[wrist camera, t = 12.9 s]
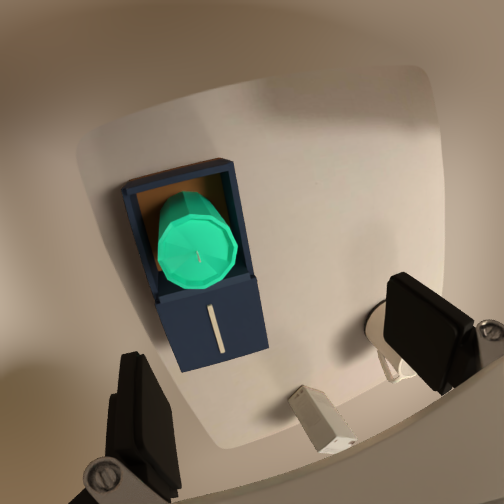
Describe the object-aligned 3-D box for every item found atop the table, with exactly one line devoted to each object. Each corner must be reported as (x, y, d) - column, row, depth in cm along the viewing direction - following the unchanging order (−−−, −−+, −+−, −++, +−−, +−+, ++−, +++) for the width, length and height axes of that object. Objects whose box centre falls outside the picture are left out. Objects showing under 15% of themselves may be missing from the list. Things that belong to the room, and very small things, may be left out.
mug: (382, 288, 45) (425, 321, 36) (411, 304, 48) (450, 334, 39) (344, 346, 47) (379, 386, 38) (377, 355, 50) (410, 390, 41)
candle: (210, 185, 32) (236, 210, 21) (219, 240, 34) (247, 289, 23) (153, 197, 30) (147, 228, 20) (165, 251, 33) (167, 308, 22)
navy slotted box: (129, 180, 30) (118, 191, 24) (220, 157, 32) (236, 162, 25) (176, 335, 38) (182, 374, 31) (251, 314, 40) (270, 349, 33)
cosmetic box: (286, 400, 48) (314, 454, 37) (303, 382, 47) (336, 436, 37) (310, 407, 51) (339, 457, 40) (326, 391, 50) (359, 439, 39)
